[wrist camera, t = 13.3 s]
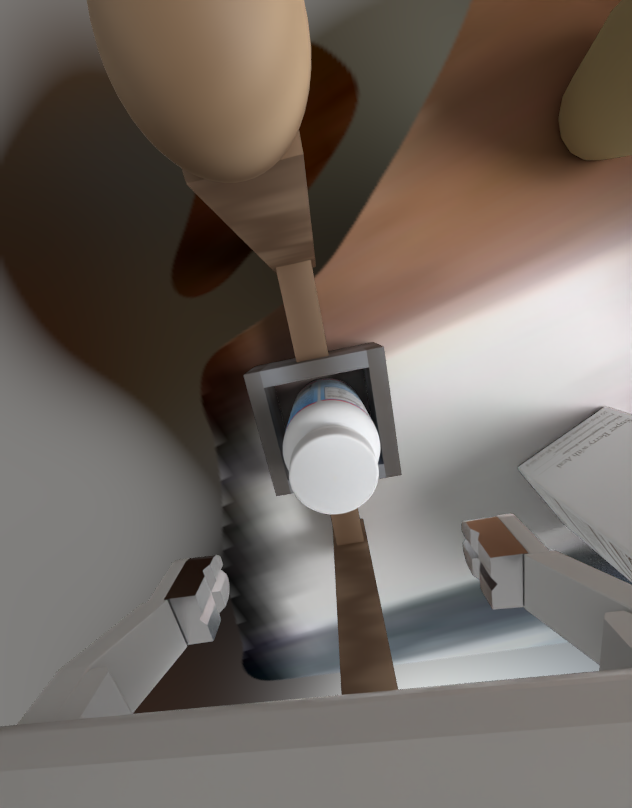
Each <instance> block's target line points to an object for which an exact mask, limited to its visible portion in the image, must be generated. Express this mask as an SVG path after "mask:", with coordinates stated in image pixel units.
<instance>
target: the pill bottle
mask: <svg viewBox="0 0 632 808" xmlns="http://www.w3.org/2000/svg"><path fill="white" fill-rule="evenodd" d="M379 456H380V439H379V435H378V432H377V430H376V427H375V425H374V423H373V421H372V420H371V418H370V416H369V414H368V412H367V410H366V409H365V407H364V405H363V403H362V401H361V400H360V398H359V396H358V394H357V393H356V392H355V390H354V389H353V388H352V387H351V386H349V385H348V384H347V383H345V382H343V381H340V380H337V379H332V378H324V379H319V380H315V381H313V382H311V383H309V384H308V385H306V386H305V387H304V388H303V389H302V390H301V391H300V392H299V393H298V395H297V397H296V399H295V401H294V404H293V407H292V411H291V414H290V418H289V421H288V425H287V428H286V431H285V435H284V440H283V457H284V461H285V464H286V467H287V469H288V470H289V481H290V485H291V488H292V490H293V492H294V494H295V496H296V497H297V498H298V500H299V501H300V502H301V503H303V504H304V505H305V506H306V507H308V508H310V509H312V510H314V511H316V512H319V513H323V514H343V513H347V512H350V511H352V510H355V509H356V508H358V507H360V506H361V505H363V504H364V503H365V502H366V501H367V500H368V499H369V498H370V497H371V495H372V494H373V492H374V490H375V488H376V486H377V483H378V477H379V469H378V461H379Z"/></svg>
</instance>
